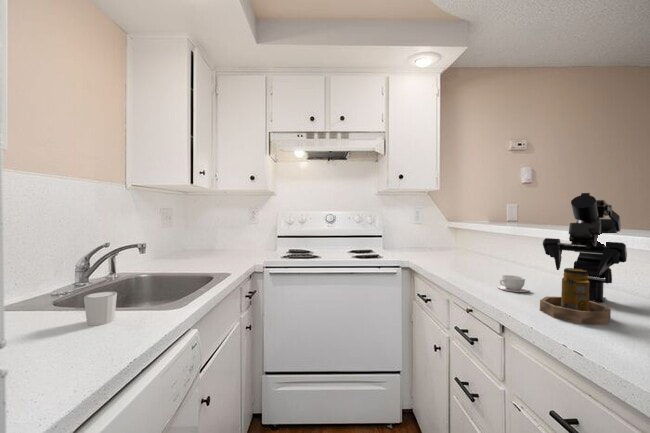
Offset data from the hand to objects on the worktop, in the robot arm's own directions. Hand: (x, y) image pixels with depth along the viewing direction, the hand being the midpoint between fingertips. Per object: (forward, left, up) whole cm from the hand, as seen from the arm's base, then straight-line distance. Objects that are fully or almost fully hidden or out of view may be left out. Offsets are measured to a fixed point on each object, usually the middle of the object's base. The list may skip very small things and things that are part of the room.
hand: (577, 271), depth 88 cm
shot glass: (+105, -76, -12) cm, 130 cm away
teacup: (-15, -21, -12) cm, 29 cm away
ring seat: (+3, 0, -12) cm, 12 cm away
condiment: (+3, 0, -11) cm, 12 cm away
